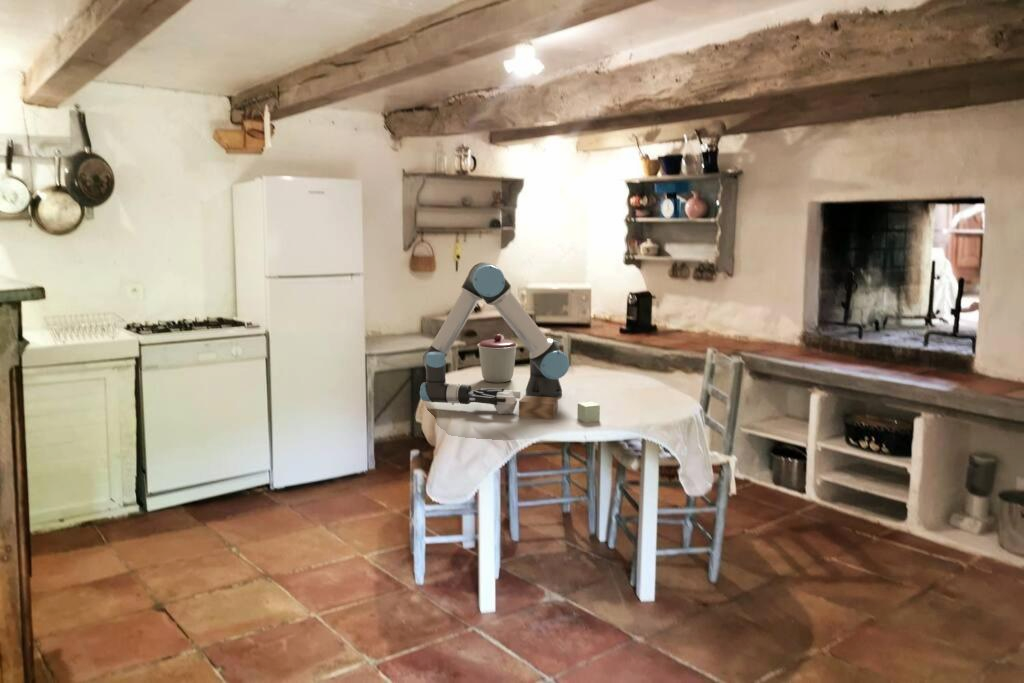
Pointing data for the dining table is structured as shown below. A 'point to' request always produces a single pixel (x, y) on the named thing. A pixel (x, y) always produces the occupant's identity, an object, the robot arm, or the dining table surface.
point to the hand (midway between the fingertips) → (517, 397)
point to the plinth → (538, 407)
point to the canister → (497, 359)
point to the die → (503, 407)
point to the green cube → (588, 411)
